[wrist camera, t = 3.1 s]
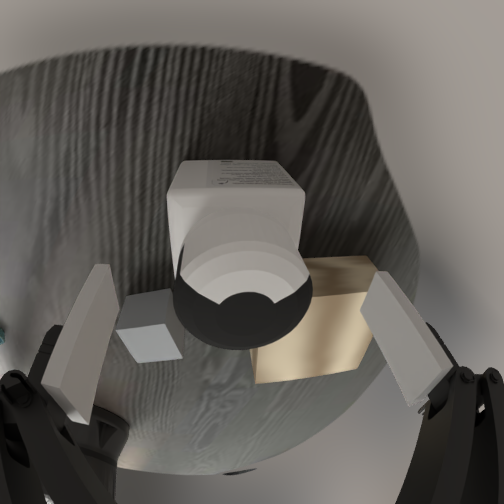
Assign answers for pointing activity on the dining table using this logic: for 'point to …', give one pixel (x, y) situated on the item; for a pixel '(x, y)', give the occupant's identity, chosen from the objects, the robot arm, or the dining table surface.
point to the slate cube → (151, 327)
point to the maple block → (323, 325)
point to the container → (237, 252)
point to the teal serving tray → (2, 337)
